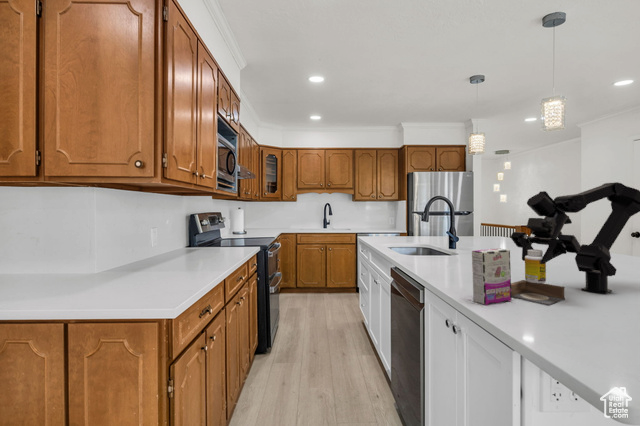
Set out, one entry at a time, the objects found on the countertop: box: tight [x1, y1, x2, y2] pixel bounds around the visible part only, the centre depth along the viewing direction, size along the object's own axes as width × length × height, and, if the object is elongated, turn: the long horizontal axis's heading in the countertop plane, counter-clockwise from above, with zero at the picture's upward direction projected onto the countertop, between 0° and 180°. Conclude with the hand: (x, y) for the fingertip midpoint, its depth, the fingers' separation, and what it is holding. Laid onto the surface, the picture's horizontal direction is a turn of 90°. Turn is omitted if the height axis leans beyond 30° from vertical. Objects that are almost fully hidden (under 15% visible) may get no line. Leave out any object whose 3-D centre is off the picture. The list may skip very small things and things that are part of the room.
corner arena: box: [511, 279, 566, 307], centre depth 99 cm, size 12×12×4 cm
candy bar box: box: [471, 248, 513, 306], centre depth 97 cm, size 11×5×16 cm, turn 109°
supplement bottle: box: [524, 249, 547, 284], centre depth 99 cm, size 6×6×10 cm
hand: (532, 261), depth 98 cm, fingers closed on supplement bottle, 6 cm apart
